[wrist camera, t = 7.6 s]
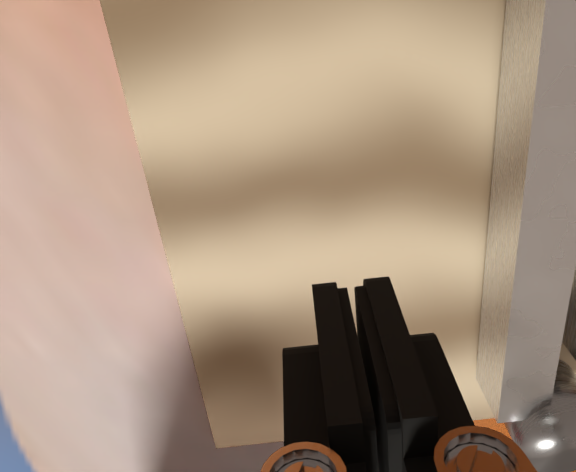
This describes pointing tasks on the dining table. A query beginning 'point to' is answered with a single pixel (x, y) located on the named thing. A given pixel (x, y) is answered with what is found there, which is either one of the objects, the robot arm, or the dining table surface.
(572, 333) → the arm
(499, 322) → the tong arm
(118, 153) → the dining table surface
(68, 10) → the dining table surface
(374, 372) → the robot arm
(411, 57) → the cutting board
